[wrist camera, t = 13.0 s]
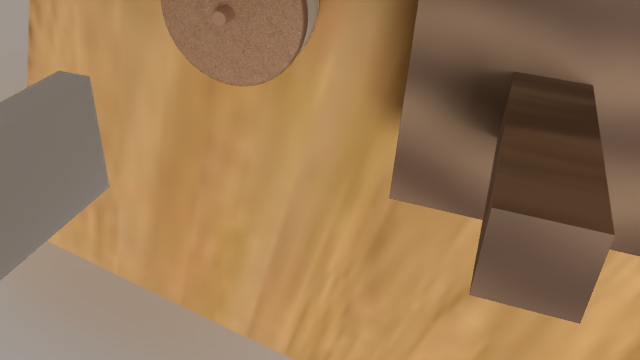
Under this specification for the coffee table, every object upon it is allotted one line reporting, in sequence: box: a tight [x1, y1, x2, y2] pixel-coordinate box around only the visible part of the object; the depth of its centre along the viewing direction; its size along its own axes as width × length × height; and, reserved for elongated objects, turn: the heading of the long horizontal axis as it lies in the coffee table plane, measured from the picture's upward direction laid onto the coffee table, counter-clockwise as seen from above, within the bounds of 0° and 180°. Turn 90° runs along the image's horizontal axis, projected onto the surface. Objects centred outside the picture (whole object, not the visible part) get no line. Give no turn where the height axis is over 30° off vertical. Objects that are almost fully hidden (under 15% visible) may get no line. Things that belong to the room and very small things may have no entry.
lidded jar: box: [161, 0, 319, 86], centre depth 44 cm, size 11×11×9 cm
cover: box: [389, 0, 640, 324], centre depth 32 cm, size 15×15×26 cm
